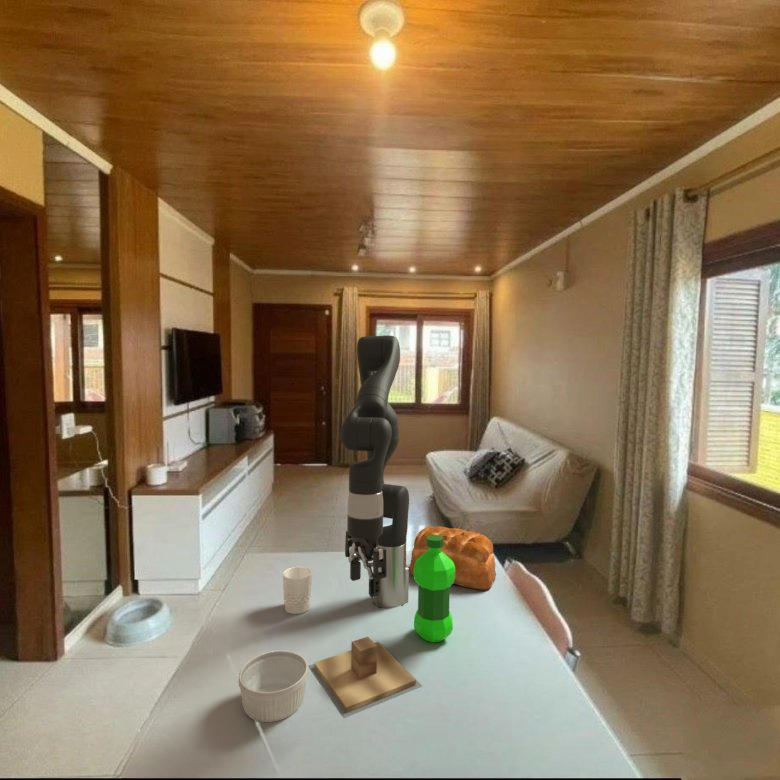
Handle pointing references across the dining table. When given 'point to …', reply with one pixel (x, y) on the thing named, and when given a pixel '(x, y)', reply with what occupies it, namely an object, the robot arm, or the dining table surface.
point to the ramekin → (273, 685)
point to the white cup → (297, 589)
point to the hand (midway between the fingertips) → (364, 587)
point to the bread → (462, 555)
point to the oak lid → (363, 674)
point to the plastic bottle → (434, 591)
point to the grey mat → (364, 705)
